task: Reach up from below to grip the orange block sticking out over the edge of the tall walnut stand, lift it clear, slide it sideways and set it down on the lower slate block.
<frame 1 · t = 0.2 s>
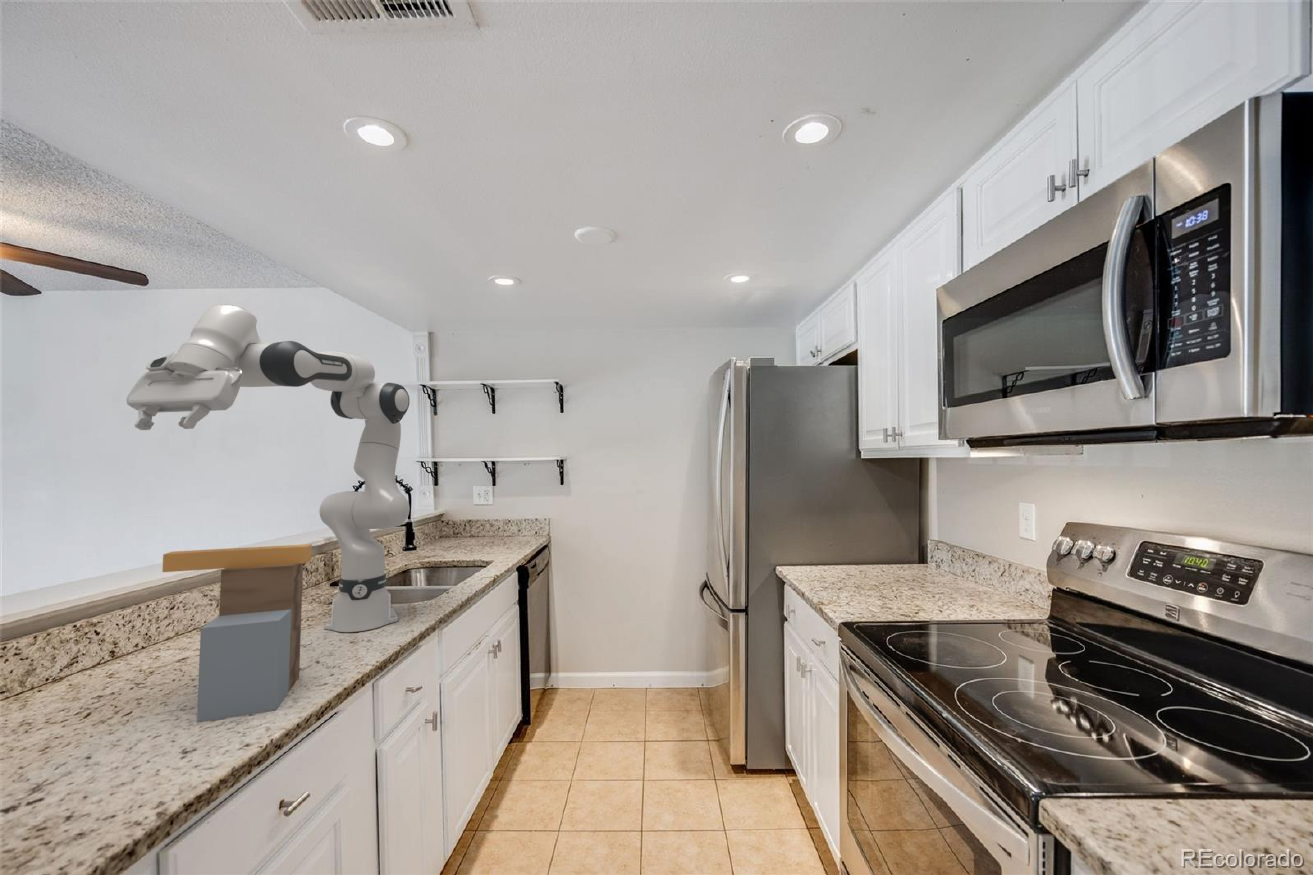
hand: (163, 428, 94), 54 cm above the worktop, tool tilted 30°, fingers open, 8 cm apart
slate block: (245, 706, 98), on the worktop
walnut stand: (259, 689, 105), on the worktop
orange block: (241, 565, 105), point 26 cm above the worktop, touching walnut stand
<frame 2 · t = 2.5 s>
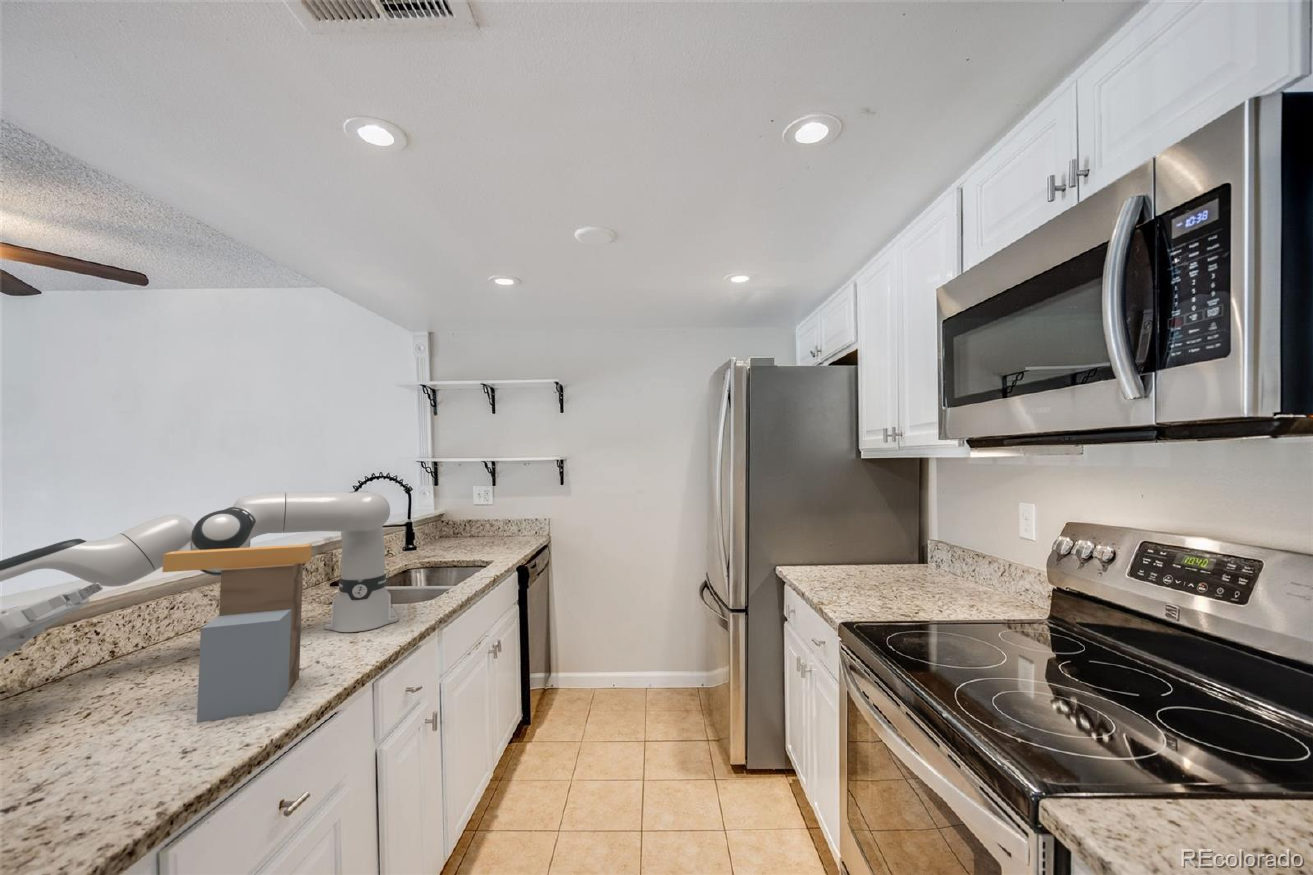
hand: (83, 591, 96), 23 cm above the worktop, tool pointing upward, fingers open, 8 cm apart
nothing on the worktop moved.
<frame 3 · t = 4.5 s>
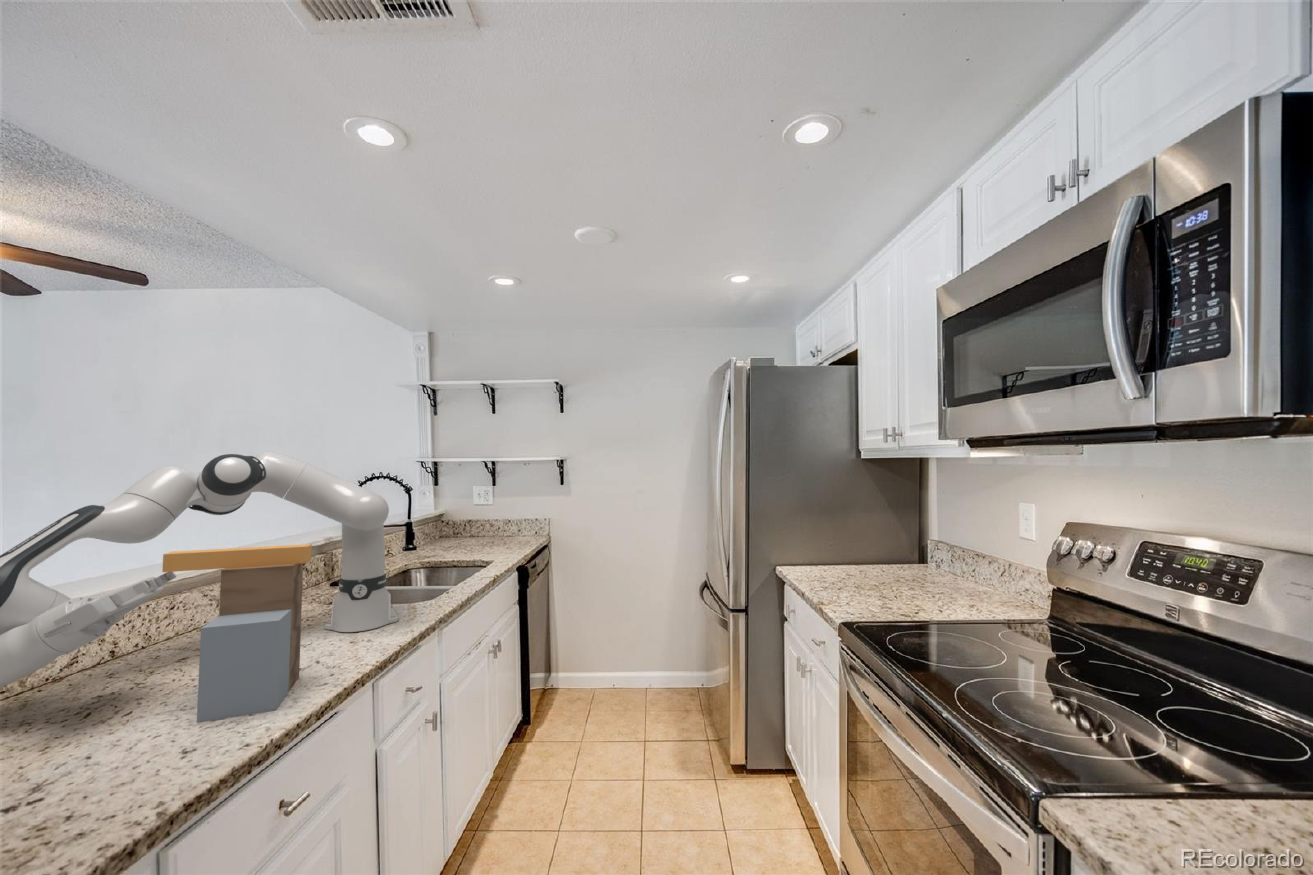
hand: (161, 578, 100), 24 cm above the worktop, tool pointing upward, fingers open, 8 cm apart
nothing on the worktop moved.
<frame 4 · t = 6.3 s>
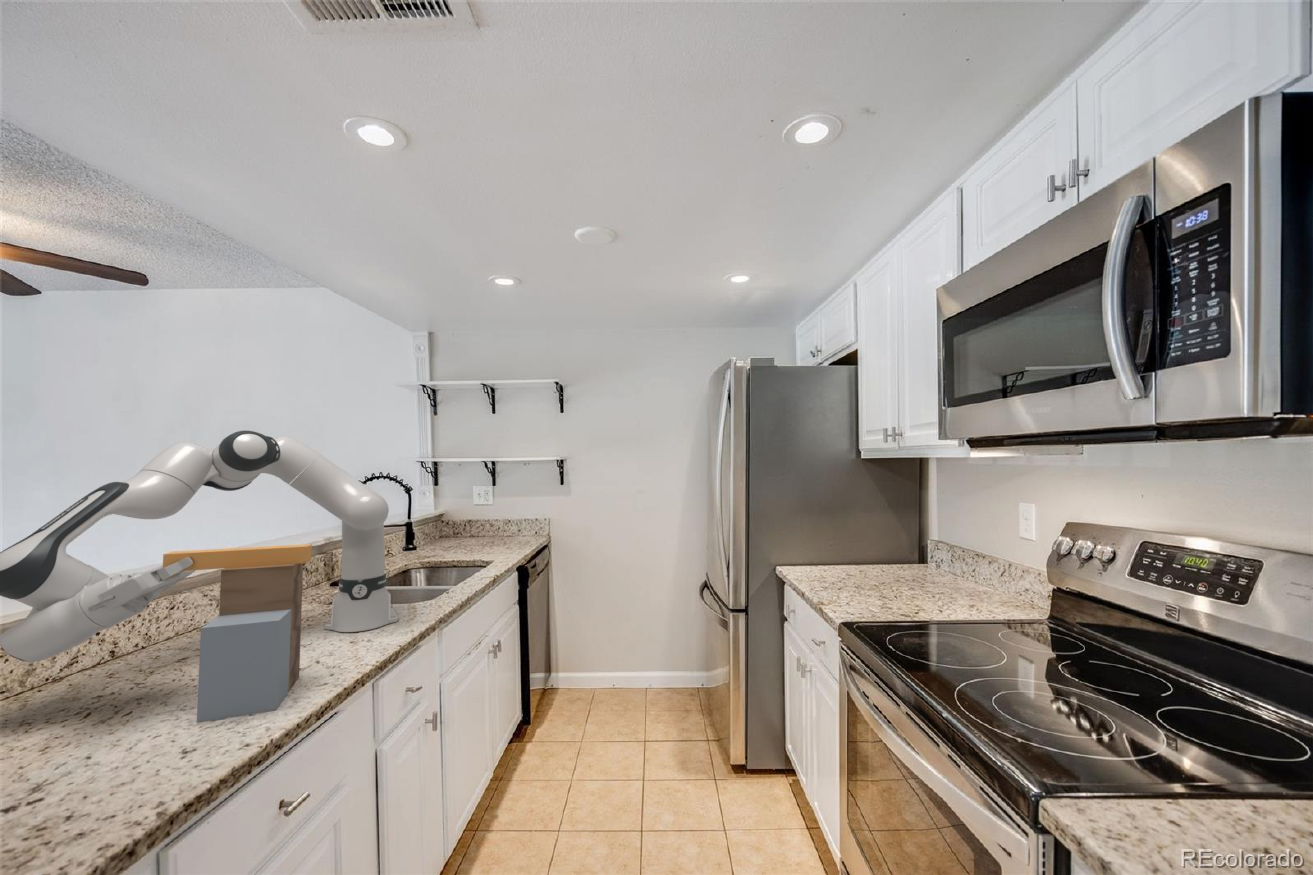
hand: (197, 557, 103), 28 cm above the worktop, tool pointing upward, fingers closed on orange block, 3 cm apart
orange block: (241, 565, 105), point 26 cm above the worktop, touching gripper, walnut stand
everything else where it was.
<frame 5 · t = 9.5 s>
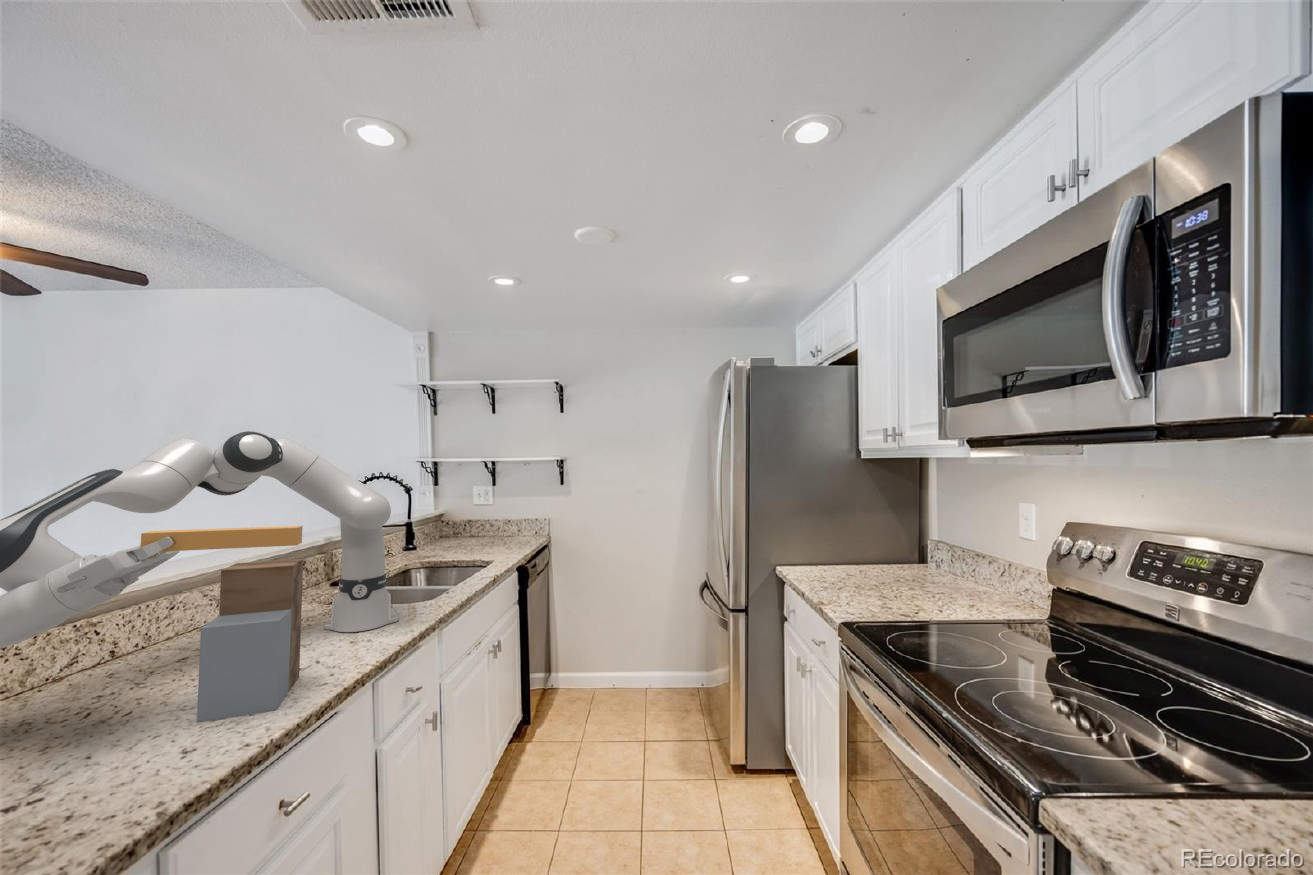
hand: (179, 537, 95), 33 cm above the worktop, tool pointing upward, fingers closed on orange block, 3 cm apart
orange block: (226, 547, 98), point 31 cm above the worktop, touching gripper
everything else where it was.
when the fingers open (21 cm above the worktop, at t = 12.4 s): orange block drops 2 cm, resting on slate block.
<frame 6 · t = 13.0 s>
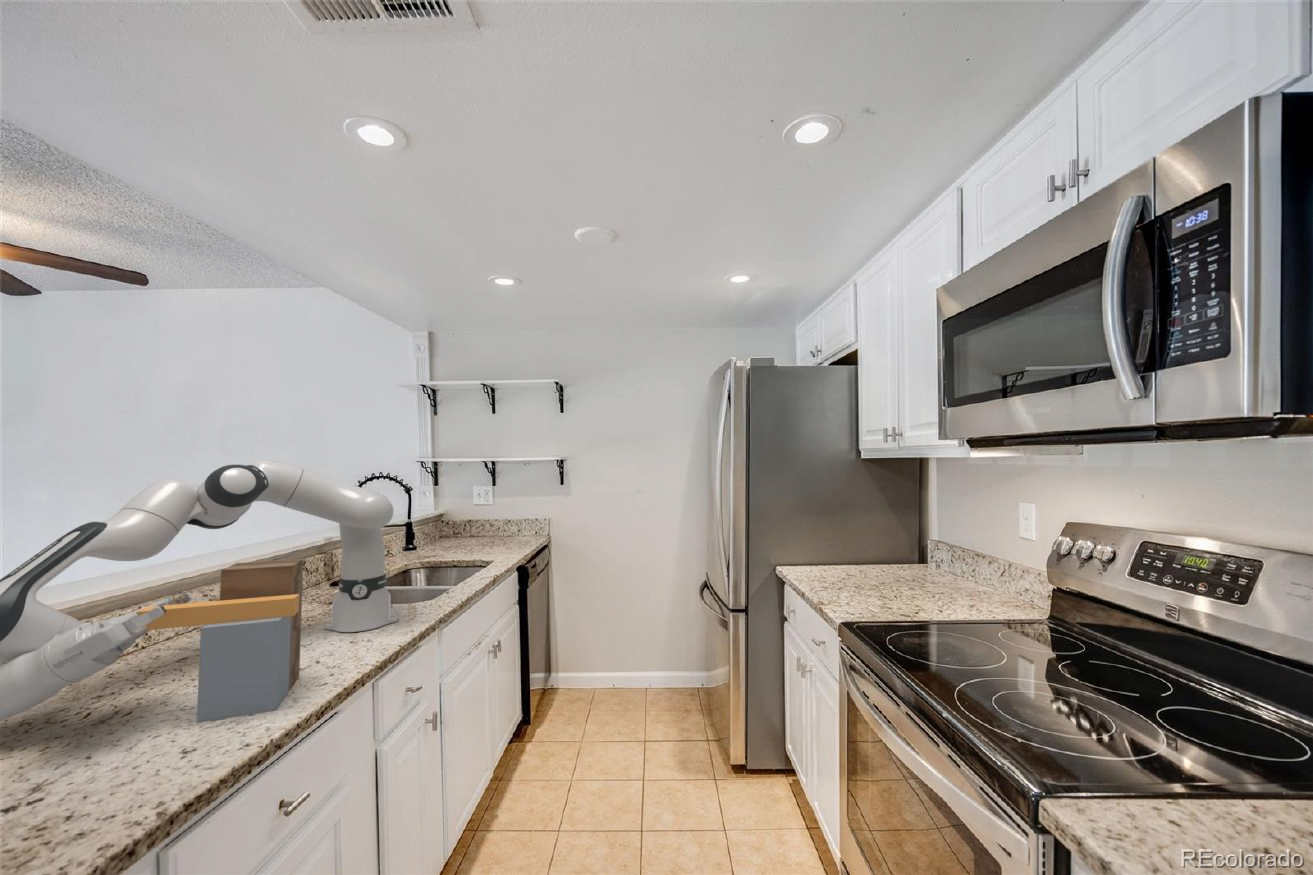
hand: (176, 602, 95), 21 cm above the worktop, tool pointing upward, fingers open, 8 cm apart
orange block: (222, 620, 97), point 17 cm above the worktop, touching slate block
everything else where it was.
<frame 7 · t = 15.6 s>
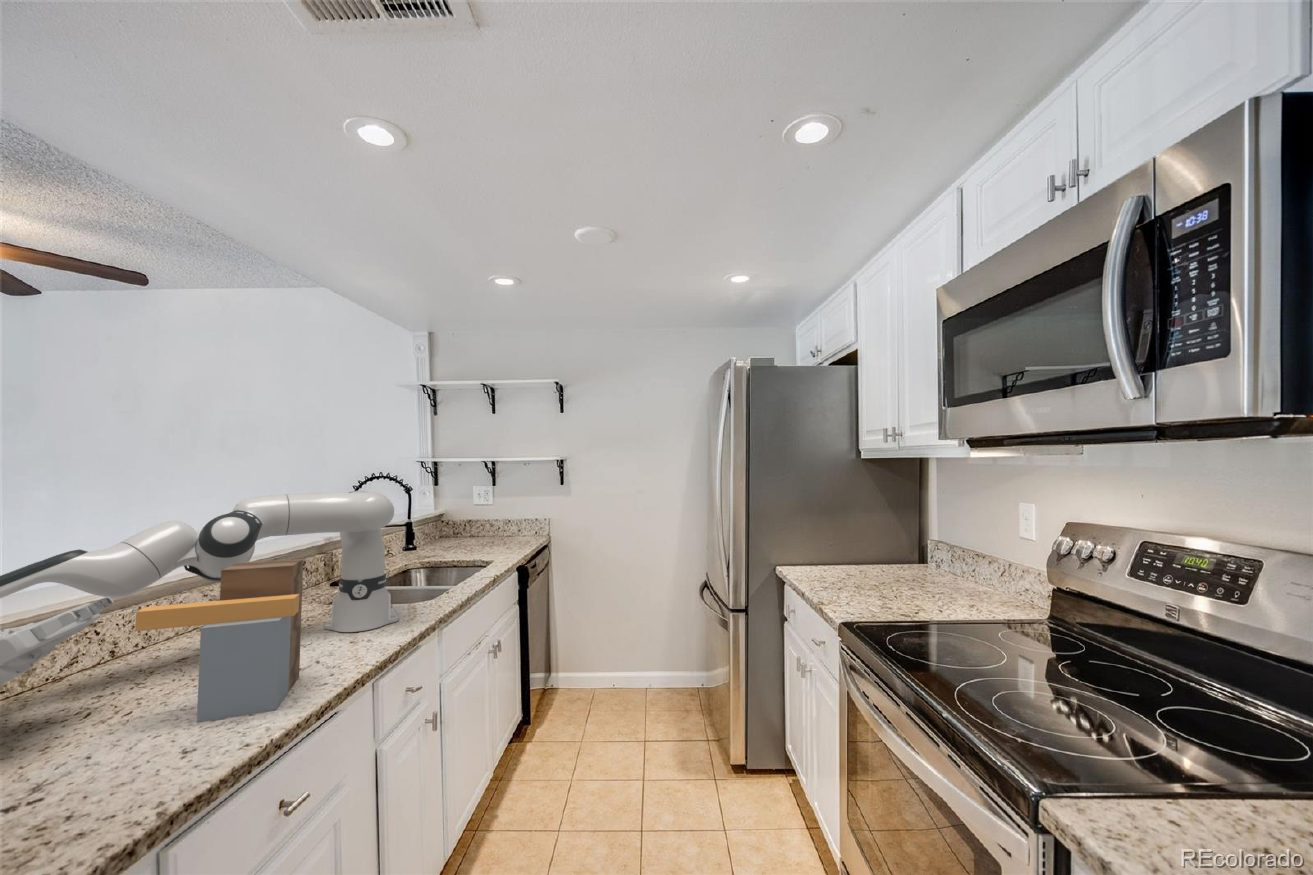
hand: (93, 607, 91), 22 cm above the worktop, tool pointing upward, fingers open, 8 cm apart
nothing on the worktop moved.
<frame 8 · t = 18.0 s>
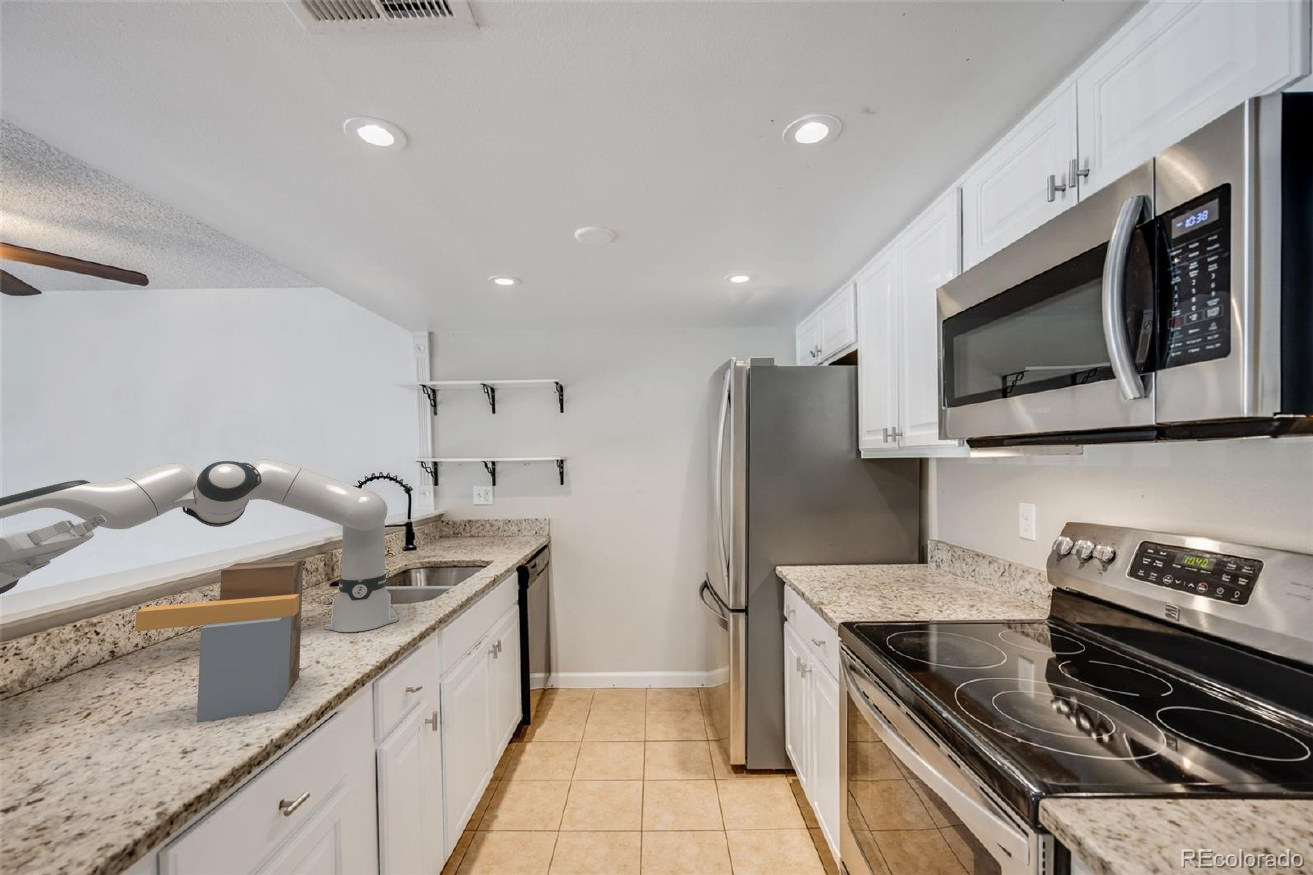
hand: (87, 521, 96), 36 cm above the worktop, tool pointing upward, fingers open, 8 cm apart
nothing on the worktop moved.
at the end: orange block inside the target area on the slate block (0.2 cm from its centre), point 17.0 cm above the slate block's base; orange block touching slate block; the gripper is holding nothing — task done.
